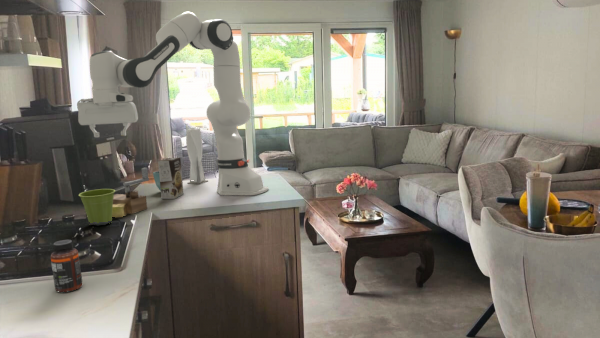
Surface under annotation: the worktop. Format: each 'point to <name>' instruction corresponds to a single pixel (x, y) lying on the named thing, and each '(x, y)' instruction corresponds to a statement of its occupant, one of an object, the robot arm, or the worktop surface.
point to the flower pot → (157, 179)
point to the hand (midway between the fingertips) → (110, 136)
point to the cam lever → (136, 181)
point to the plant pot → (98, 204)
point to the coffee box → (170, 178)
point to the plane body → (131, 201)
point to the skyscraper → (195, 155)
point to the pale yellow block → (119, 210)
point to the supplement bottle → (66, 266)
